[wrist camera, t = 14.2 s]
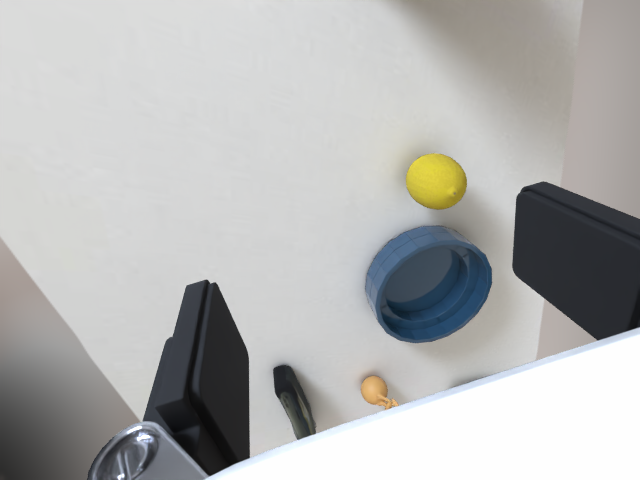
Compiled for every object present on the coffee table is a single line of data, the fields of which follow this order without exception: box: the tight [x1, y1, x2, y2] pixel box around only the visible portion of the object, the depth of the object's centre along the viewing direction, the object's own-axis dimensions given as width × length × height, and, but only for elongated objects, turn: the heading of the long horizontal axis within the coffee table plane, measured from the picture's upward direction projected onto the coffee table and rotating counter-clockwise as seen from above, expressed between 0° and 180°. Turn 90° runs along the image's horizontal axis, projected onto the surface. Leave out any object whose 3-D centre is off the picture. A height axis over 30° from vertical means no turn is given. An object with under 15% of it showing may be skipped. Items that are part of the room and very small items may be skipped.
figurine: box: [361, 376, 399, 410], centre depth 49 cm, size 8×6×12 cm
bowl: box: [365, 226, 492, 343], centre depth 45 cm, size 15×15×4 cm
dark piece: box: [273, 365, 316, 440], centre depth 51 cm, size 5×3×15 cm
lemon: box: [406, 153, 467, 210], centre depth 36 cm, size 6×6×8 cm
